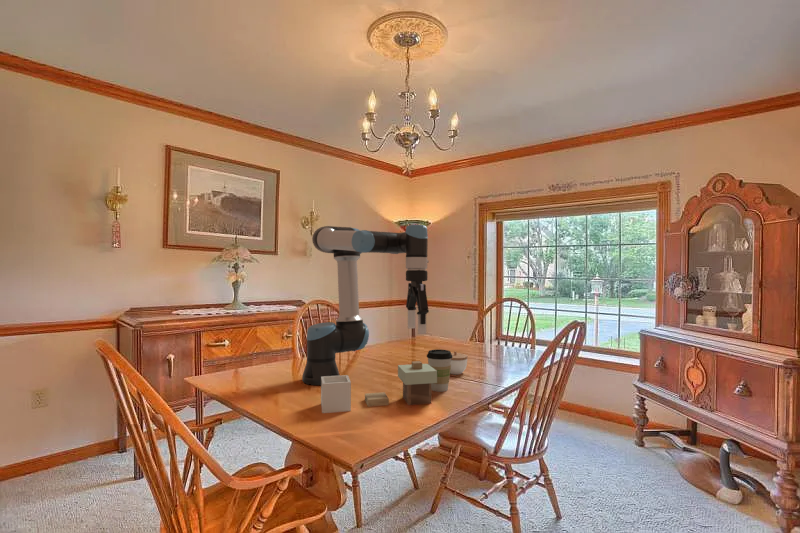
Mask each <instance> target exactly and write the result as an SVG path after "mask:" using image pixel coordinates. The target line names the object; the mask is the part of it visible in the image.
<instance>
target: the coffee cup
mask: <svg viewBox="0 0 800 533" xmlns="http://www.w3.org/2000/svg"><path fill="white" fill-rule="evenodd" d="M451 353H452V352H451V350H448V349H438V348H436V349H430V350H428V351H427V354H426V358H427V362H428V363H427V364H429V365H430V366H431V367H432V368H434V369H435V370H436V371H437V383H431V391H433V392H437V393H440V392H443V393H444V392H447V391H448V390H449V383H450V378H451V377H450V376H451V374H450V370H451V358H452V354H451Z"/></svg>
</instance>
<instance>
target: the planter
mask: <svg viewBox="0 0 800 533" xmlns="http://www.w3.org/2000/svg"><path fill="white" fill-rule="evenodd" d="M320 406H321V413H322V414H330V413H331V414H332V413H342V412H344V413H345V412H351V411H352V382H351V379H350V376H349V375H347V374H346V375H344V374H343V375H340V376H323V377H321V385H320Z"/></svg>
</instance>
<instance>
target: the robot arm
mask: <svg viewBox="0 0 800 533" xmlns="http://www.w3.org/2000/svg"><path fill="white" fill-rule="evenodd" d="M428 235H429V234H428V227H427V226H426V225H424V224H410V225H409V224H408V225H407V226H406V227H405V231H404V232H394V231H392V232H391V231H390V232H389V231H377V230H375V231H374V230H366V229H362V230H361V229H359V228H355V227H351V226H349V227H348V226H333V225H332V226H331V225H326V226H325V225H324V226H321V227H319V228H317V229H316V230H315V231H314V233H313V234H312V238H311V239H312V244H313V246H314V248H315V249H317V251H319V252H322V253H325V254H333V259H334V260H335V261H336V263H337V264H336V265H337V266H336V267H337V284H338V285H337V287H338V288H337V290H338V312H339V313H338V314H339V316H338V318H337V319H336V320H335V322H331V321H329V322H319V323H315V324H312V325H310V326H309V327H307V330H306V338H305V339H306V364H305V368H304V370H303V374H302V379H301V380H302V381H303V382H304V383H303V382H302V383H303V384H305V383H306V384H305V385H309V384H311V386H321V377H323V376H341V375H340V372H339V367H338V366H337V362H336V354H339V353H347V352H355V351H361V350H363V349H364V348H366V345H368V341H369V338H370V331H369V328H368V325H367V324H366V323H365V322H364V319H363V318H362V317H361V316H360V307H359V306H360V303H359V284H358V283H359V282H358V279H359V278H358V277H359V276H358V260H360V259H361V254H363V253H365V254H367V253H368V254H369V253H372V254H373V253H374V254H377V253H378V254H391V255H392V254H393V255H398V254H405V269H406V271H405V281H407V282H408V285H407V286H408V287H407V289H408V290H407V297H406V304H405V308H406V309H407V329H416V315H417V335H427V314H429V313H430V312H429V304H428V297H427V286H426V284H424V283H423V282H426V281H428V270H427V269H428V263H429V262H430V260H429V259H428V243H429V242H428V239H429V236H428ZM416 306H417V307H416ZM416 310H417V312H416Z"/></svg>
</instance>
